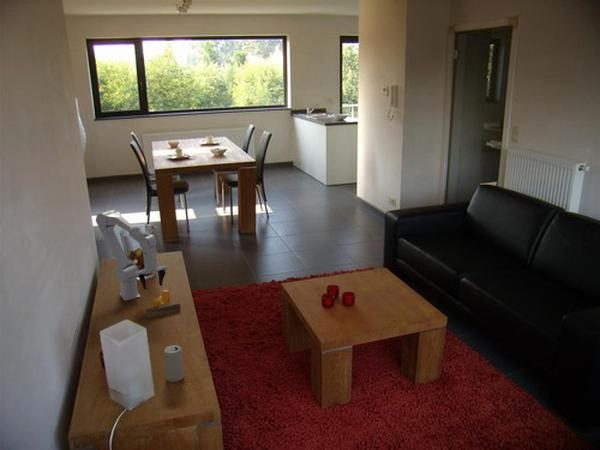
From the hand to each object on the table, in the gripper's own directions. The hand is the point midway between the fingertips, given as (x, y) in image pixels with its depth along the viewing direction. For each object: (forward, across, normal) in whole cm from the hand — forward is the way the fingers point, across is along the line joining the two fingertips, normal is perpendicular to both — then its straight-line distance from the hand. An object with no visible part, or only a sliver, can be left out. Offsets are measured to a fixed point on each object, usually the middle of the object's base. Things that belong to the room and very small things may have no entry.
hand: (152, 286), depth 240 cm
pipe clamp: (+8, +1, -7) cm, 11 cm away
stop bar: (+8, 0, -14) cm, 16 cm away
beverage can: (+8, -13, -67) cm, 69 cm away
